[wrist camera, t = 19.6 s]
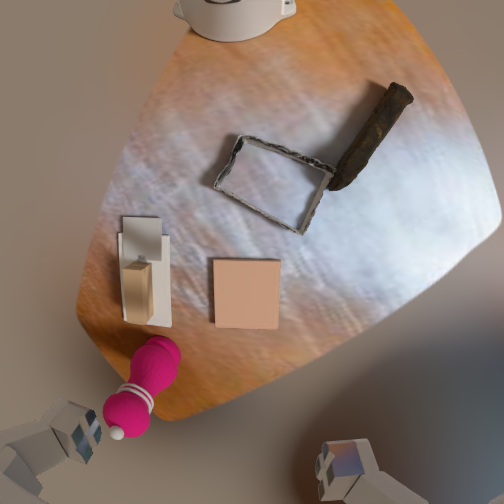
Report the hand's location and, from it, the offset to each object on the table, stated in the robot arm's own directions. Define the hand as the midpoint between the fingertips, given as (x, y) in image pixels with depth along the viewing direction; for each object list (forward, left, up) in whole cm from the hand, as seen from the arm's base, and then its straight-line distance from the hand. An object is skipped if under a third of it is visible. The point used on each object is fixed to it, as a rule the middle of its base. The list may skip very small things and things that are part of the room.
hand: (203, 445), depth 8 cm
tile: (+7, -4, -32) cm, 33 cm away
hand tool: (-17, +16, -33) cm, 40 cm away
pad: (+6, -15, -32) cm, 36 cm away
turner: (+3, -15, -31) cm, 35 cm away
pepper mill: (+18, -13, -32) cm, 39 cm away
